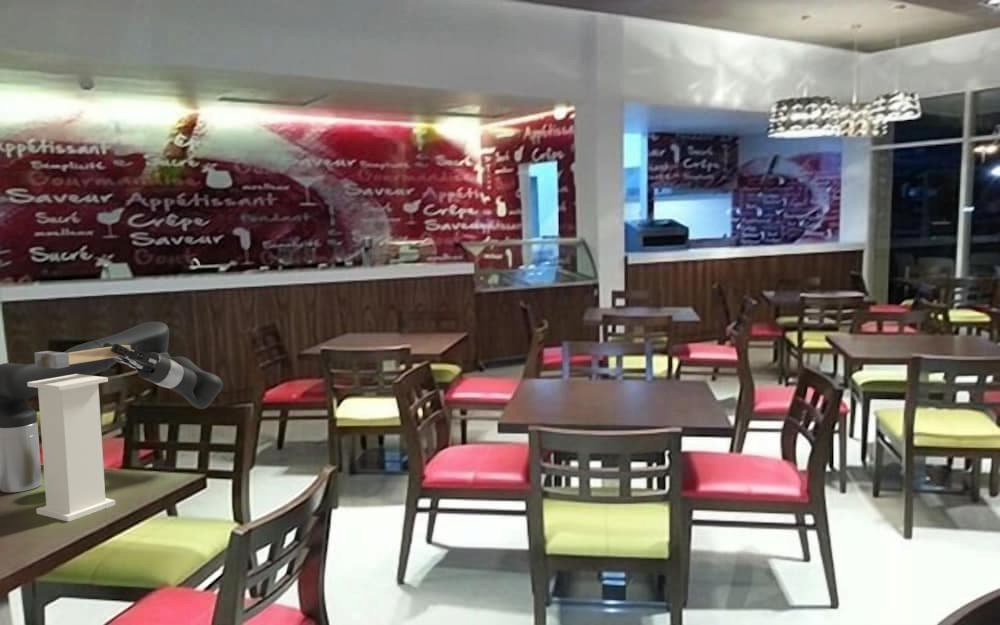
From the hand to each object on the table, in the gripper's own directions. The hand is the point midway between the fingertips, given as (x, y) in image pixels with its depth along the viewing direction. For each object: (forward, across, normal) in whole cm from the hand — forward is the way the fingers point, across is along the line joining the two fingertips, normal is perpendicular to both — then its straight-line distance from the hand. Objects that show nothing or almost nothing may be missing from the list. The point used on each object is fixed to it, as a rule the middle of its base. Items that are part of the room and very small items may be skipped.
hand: (108, 346), depth 183 cm
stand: (-10, 0, +39) cm, 40 cm away
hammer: (+4, 0, +5) cm, 6 cm away
